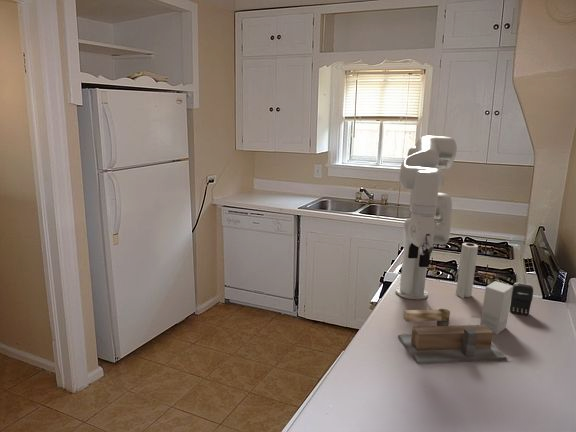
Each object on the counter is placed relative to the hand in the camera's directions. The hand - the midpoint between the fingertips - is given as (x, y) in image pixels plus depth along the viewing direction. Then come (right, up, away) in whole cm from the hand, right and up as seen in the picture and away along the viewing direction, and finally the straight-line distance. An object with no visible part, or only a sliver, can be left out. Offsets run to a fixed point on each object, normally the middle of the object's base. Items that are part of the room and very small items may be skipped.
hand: (418, 262), depth 151 cm
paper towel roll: (+29, -17, +38) cm, 51 cm away
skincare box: (+29, -24, +10) cm, 39 cm away
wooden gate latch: (+9, -26, -5) cm, 28 cm away
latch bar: (+2, -18, -2) cm, 19 cm away
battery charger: (+44, -22, +23) cm, 54 cm away
